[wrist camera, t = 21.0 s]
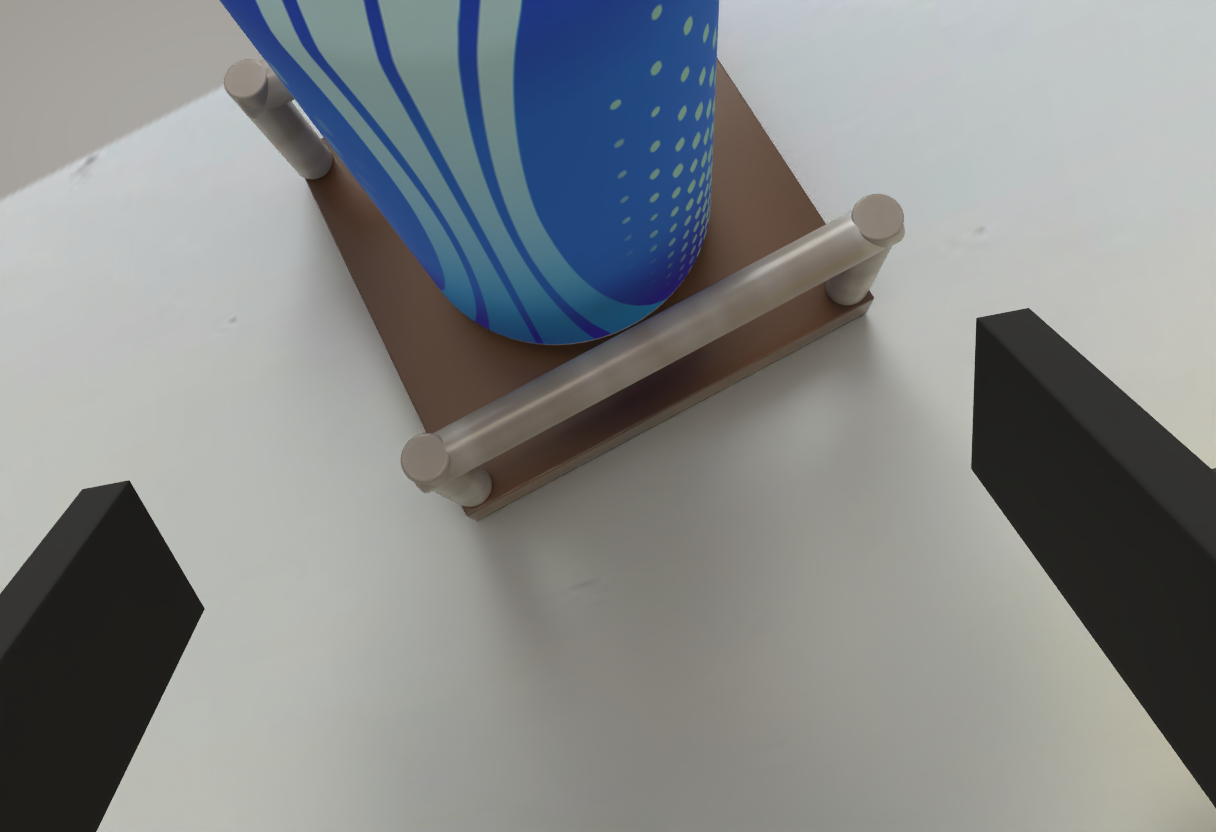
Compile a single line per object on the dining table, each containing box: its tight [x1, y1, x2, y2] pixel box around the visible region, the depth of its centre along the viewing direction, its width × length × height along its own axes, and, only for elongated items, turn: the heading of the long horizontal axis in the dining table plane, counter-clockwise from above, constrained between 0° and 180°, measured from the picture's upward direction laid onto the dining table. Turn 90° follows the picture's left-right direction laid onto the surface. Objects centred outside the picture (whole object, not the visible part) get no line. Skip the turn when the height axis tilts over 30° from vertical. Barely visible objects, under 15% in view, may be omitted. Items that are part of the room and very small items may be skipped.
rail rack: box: [224, 59, 905, 520], centre depth 25 cm, size 13×13×6 cm
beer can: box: [220, 0, 719, 345], centre depth 18 cm, size 8×8×16 cm
